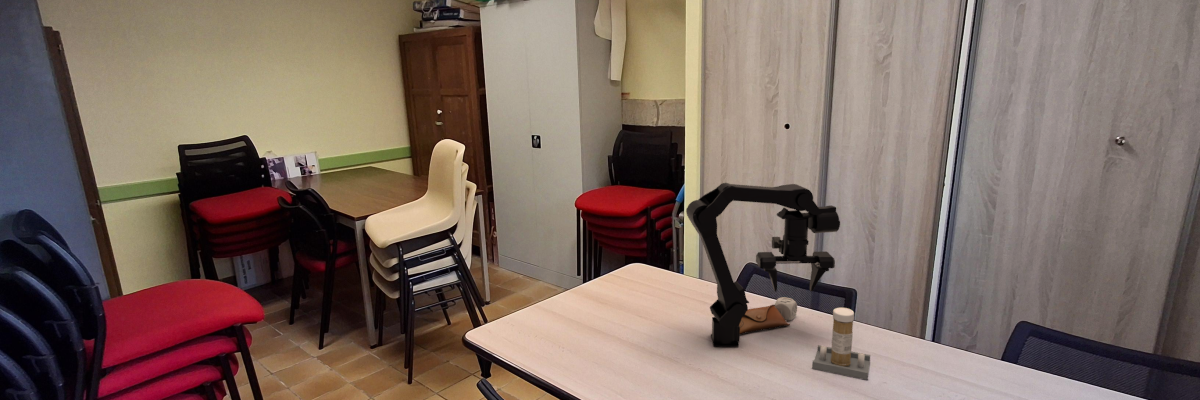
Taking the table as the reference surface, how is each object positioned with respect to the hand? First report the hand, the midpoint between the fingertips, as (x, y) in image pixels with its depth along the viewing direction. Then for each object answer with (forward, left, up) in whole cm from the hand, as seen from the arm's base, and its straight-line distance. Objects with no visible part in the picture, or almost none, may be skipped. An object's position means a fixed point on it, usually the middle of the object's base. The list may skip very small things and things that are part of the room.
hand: (793, 290), depth 148 cm
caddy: (+8, -15, -13) cm, 21 cm away
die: (+2, +12, -13) cm, 18 cm away
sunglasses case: (-8, +7, -13) cm, 17 cm away
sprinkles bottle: (+8, -15, -13) cm, 21 cm away
